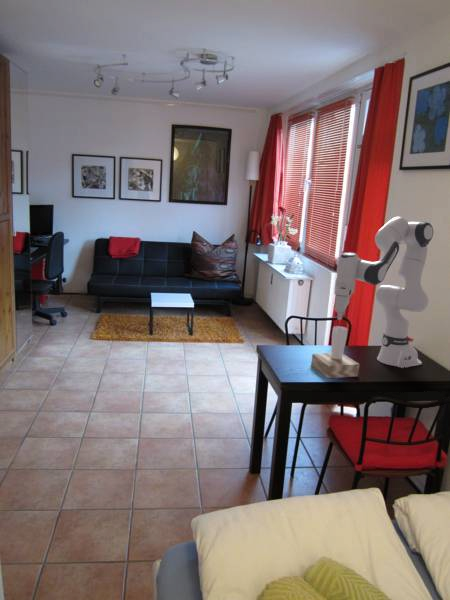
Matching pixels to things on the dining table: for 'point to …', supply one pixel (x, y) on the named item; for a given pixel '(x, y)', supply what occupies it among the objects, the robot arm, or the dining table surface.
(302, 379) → the dining table surface
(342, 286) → the robot arm
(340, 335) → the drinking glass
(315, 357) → the birch block
